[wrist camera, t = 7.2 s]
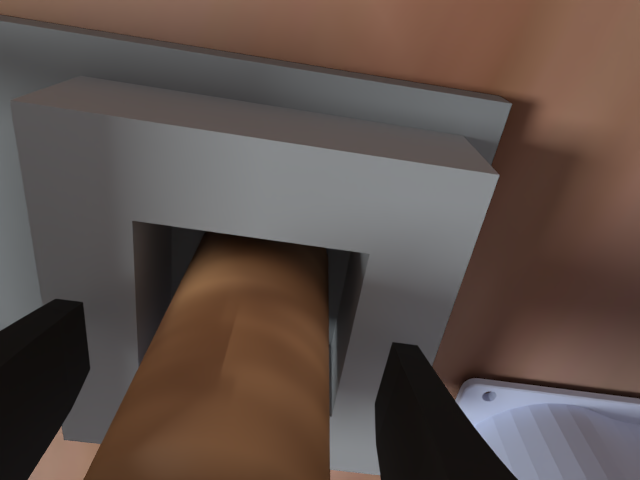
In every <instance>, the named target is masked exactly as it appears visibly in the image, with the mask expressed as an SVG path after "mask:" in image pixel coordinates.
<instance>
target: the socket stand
mask: <svg viewBox="0 0 640 480" xmlns="http://www.w3.org/2000/svg"><path fill="white" fill-rule="evenodd" d="M511 106H512V103H510V102H508V101H507V100H505V99H504V98H502V97H500V96H496V95H490V94H484V93H478V92H472V91H466V90H460V89H453V88H447V87H441V86H435V85H429V84H423V83H417V82H410V81H404V80H398V79H392V78H386V77H380V76H374V75H367V74H361V73H355V72H349V71H343V70H337V69H331V68H324V67H318V66H312V65H306V64H300V63H294V62H288V61H281V60H275V59H269V58H263V57H257V56H251V55H245V54H238V53H232V52H226V51H220V50H214V49H208V48H202V47H195V46H189V45H183V44H177V43H171V42H165V41H159V40H152V39H146V38H140V37H134V36H128V35H122V34H116V33H109V32H103V31H97V30H91V29H85V28H79V27H73V26H66V25H60V24H54V23H48V22H42V21H36V20H29V19H23V18H17V17H11V16H5V15H0V331H1V330H2V329H4V328H6V327H8V326H9V325H11V324H13V323H14V322H16V321H18V320H19V319H21V318H23V317H24V316H26V315H28V314H29V313H31V312H33V311H35V310H36V309H38V308H40V307H41V306H43V305H45V304H47V303H49V302H50V301H52V300H54V299H64V300H71V301H79V302H83V306H84V315H85V324H86V333H87V342H88V351H89V361H90V371H89V373H88V375H87V378H86V380H85V382H84V384H83V386H82V389H81V391H80V393H79V395H78V397H77V399H76V401H75V403H74V405H73V407H72V409H71V411H70V413H69V414H68V416H67V418H66V419H65V421H64V423H63V424H62V430H63V437H64V440H70V441H79V442H88V443H97V444H101V443H102V441H103V439H104V437H105V435H106V433H107V431H108V429H109V427H110V425H111V423H112V421H113V419H114V417H115V415H116V412H117V410H118V408H119V406H120V404H121V402H122V400H123V398H124V396H125V394H126V392H127V390H128V388H129V386H130V384H131V382H132V380H133V378H134V376H135V374H136V372H137V370H138V368H139V366H140V364H141V362H142V360H143V358H144V355H145V353H146V351H147V349H148V347H149V345H150V343H151V341H152V339H153V337H154V335H155V333H156V331H157V329H158V327H159V325H160V323H161V321H162V319H163V317H164V315H165V313H166V311H167V309H168V307H169V305H170V303H171V301H172V298H173V296H174V294H175V292H176V290H177V288H178V286H179V284H180V282H181V280H182V278H183V276H184V274H185V272H186V270H187V268H188V266H189V264H190V262H191V260H192V258H193V256H194V254H195V252H196V250H197V248H198V246H199V244H200V241H201V239H202V237H203V236H204V234H205V232H206V231H210V232H217V233H224V234H231V235H238V236H245V237H253V238H260V239H267V240H274V241H281V242H288V243H295V244H303V245H310V246H317V247H324V248H326V251H327V255H328V275H329V411H330V470H338V471H347V472H356V473H364V474H373V475H380V469H379V462H378V456H377V448H376V434H375V400H376V397H377V393H378V390H379V386H380V383H381V379H382V376H383V373H384V369H385V366H386V362H387V359H388V355H389V352H390V348H391V345H392V342H396V343H404V344H412V345H418V347H419V348H420V349H421V351H422V352H423V354H424V355H425V357H426V358H427V360H428V361H429V363H430V364H431V366H432V365H433V362H434V359H435V356H436V354H437V351H438V348H439V345H440V342H441V339H442V337H443V334H444V331H445V328H446V325H447V322H448V320H449V317H450V314H451V311H452V308H453V305H454V303H455V300H456V297H457V294H458V291H459V288H460V286H461V283H462V280H463V277H464V274H465V271H466V269H467V266H468V263H469V260H470V257H471V255H472V252H473V249H474V246H475V243H476V240H477V238H478V235H479V232H480V229H481V226H482V223H483V221H484V218H485V215H486V212H487V209H488V206H489V204H490V201H491V198H492V195H493V192H494V189H495V187H496V184H497V181H498V178H499V174H498V173H497V172H496V171H495V170H494V168H493V167H492V166H491V164H492V161H493V158H494V155H495V152H496V150H497V147H498V144H499V141H500V138H501V135H502V132H503V129H504V126H505V123H506V120H507V117H508V114H509V111H510V108H511Z"/></svg>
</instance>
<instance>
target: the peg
mask: <svg viewBox="0 0 640 480" xmlns="http://www.w3.org/2000/svg"><path fill="white" fill-rule="evenodd" d="M84 480H330V411H329V275H328V255H327V251H326V248H324V247H317V246H310V245H303V244H295V243H288V242H281V241H274V240H267V239H260V238H253V237H245V236H238V235H231V234H224V233H217V232H210V231H206V232H205V234H204V236H203V237H202V239H201V241H200V244H199V246H198V248H197V250H196V252H195V254H194V256H193V258H192V260H191V262H190V264H189V266H188V268H187V270H186V272H185V274H184V276H183V278H182V280H181V282H180V284H179V286H178V288H177V290H176V292H175V294H174V296H173V298H172V301H171V303H170V305H169V307H168V309H167V311H166V313H165V315H164V317H163V319H162V321H161V323H160V325H159V327H158V329H157V331H156V333H155V335H154V337H153V339H152V341H151V343H150V345H149V347H148V349H147V351H146V353H145V355H144V358H143V360H142V362H141V364H140V366H139V368H138V370H137V372H136V374H135V376H134V378H133V380H132V382H131V384H130V386H129V388H128V390H127V392H126V394H125V396H124V398H123V400H122V402H121V404H120V406H119V408H118V410H117V412H116V415H115V417H114V419H113V421H112V423H111V425H110V427H109V429H108V431H107V433H106V435H105V437H104V439H103V441H102V443H101V445H100V447H99V449H98V451H97V453H96V455H95V457H94V459H93V461H92V463H91V465H90V467H89V470H88V472H87V474H86V476H85V478H84Z"/></svg>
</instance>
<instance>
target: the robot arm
mask: <svg viewBox="0 0 640 480" xmlns="http://www.w3.org/2000/svg"><path fill="white" fill-rule="evenodd" d="M89 371H90V361H89V351H88V342H87V333H86V324H85V315H84V306H83V302H79V301H71V300H64V299H54V300H52V301H50V302H49V303H47V304H45V305H43V306H41V307H40V308H38V309H36V310H35V311H33V312H31V313H29V314H28V315H26V316H24V317H23V318H21V319H19V320H18V321H16V322H14V323H13V324H11V325H9V326H8V327H6V328H4V329H2V330H1V331H0V480H28V478H29V476H30V475H31V473H32V472H33V470H34V469H35V467H36V465H37V464H38V462H39V461H40V459H41V458H42V456H43V454H44V453H45V451H46V450H47V448H48V447H49V445H50V443H51V442H52V440H53V439H54V437H55V435H56V434H57V432H58V431H59V429H60V427H61V426H62V424H63V423H64V421H65V419H66V418H67V416H68V414H69V413H70V411H71V409H72V407H73V405H74V403H75V401H76V399H77V397H78V395H79V393H80V391H81V389H82V386H83V384H84V382H85V380H86V378H87V375H88V373H89ZM489 391H491V392H489ZM486 392H489V393H486ZM375 434H376V448H377V456H378V462H379V469H380V476H381V480H640V399H639V398H631V397H623V396H615V395H607V394H599V393H591V392H583V391H575V390H567V389H560V388H552V387H544V386H536V385H528V384H520V383H512V382H504V381H496V380H488V379H480V378H472V379H469V380H467V381H465V382H464V383H463V384H462V386H461V388H460V390H459V393H458V395H457V398H456V400H454V398H453V397H452V395H451V394H450V393H449V391H448V390H447V388H446V387H445V385H444V384H443V382H442V381H441V379H440V378H439V376H438V375H437V373H436V372H435V370H434V369H433V367H432V366H431V364H430V363H429V361H428V360H427V358H426V357H425V355H424V354H423V352H422V351H421V349H420V348H419V347H418V345H412V344H404V343H396V342H392V345H391V348H390V352H389V355H388V359H387V362H386V366H385V369H384V373H383V376H382V379H381V383H380V386H379V390H378V393H377V397H376V400H375Z"/></svg>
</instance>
